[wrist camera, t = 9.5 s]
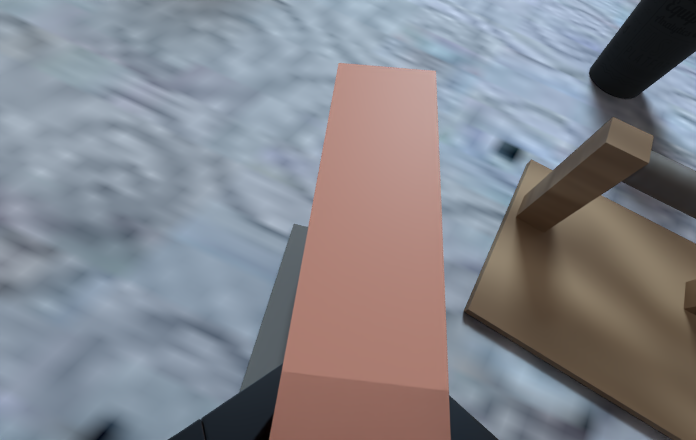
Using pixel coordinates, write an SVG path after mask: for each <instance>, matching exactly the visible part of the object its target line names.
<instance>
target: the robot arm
mask: <svg viewBox="0 0 696 440" xmlns="http://www.w3.org/2000/svg"><path fill="white" fill-rule="evenodd" d="M282 367H283V363H282V364H281V365H279V366H278V367H276V368H275V369H273V370H272V371H271V372H269V373H268V374H266V375H265V376H263V377H262V378H260V379H259V380H257V381H256V382H254V383H253V384H251V385H250V386H248V387H247V388H245V389H244V390H242V391H241V392H239V393H238V394H237V395H235V396H234V397H232V398H231V399H229V400H228V401H226V402H225V403H223V404H222V405H220V406H219V407H217V408H216V409H214V410H213V411H211V412H210V413H208V414H207V415H205V416H204V417H203V418H202V419H201V420H200V419H199V420H197V421H196V422H194V423H193V424H191V425H190V426H188V427H187V428H185V429H184V430H182V431H181V432H179V433H177V434H176V435H174V436H173V437H171V438H170V439H168V440H269V437H270V432H271V427H272V421H273V416H274V410H275V405H276V400H277V394H278V389H279V383H280V378H281V373H282ZM449 409H450V434H451V440H498V439H497V438H496V437H495V436H494V435H493V434H492V433H490V432H489V431H488V430H487V429H486V428H485V427H484V426H483V425H482V424H480V423H479V422H478V421H477V420H476V419H475V418H474V417H473V416H472V415H470V414H469V413H468V412H467V411H466V410H465V409H464V408H463V407H462V406H460V405H459V404H458V403H457V402H456V401H455V400H454V399H453V398H452V397H450V396H449Z"/></svg>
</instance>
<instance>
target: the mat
mask: <svg viewBox="0 0 696 440" xmlns="http://www.w3.org/2000/svg"><path fill="white" fill-rule="evenodd" d="M307 232H308V227H305V226H301V225H297V224H294V225H293V228H292V231H291V234H290V238H289V241H288V244H287V247H286V250H285V253H284V256H283V259H282V262H281V265H280V269H279V272H278V275H277V278H276V281H275V284H274V287H273V290H272V293H271V296H270V300H269V303H268V306H267V309H266V312H265V315H264V318H263V321H262V324H261V327H260V330H259V334H258V337H257V340H256V343H255V346H254V349H253V352H252V355H251V358H250V361H249V365H248V368H247V371H246V374H245V377H244V380H243V383H242V386H241V389H240V392H241V391H242V390H244V389H245V388H247V387H248V386H250V385H251V384H253V383H254V382H256V381H257V380H259V379H260V378H262V377H263V376H265V375H266V374H268V373H269V372H271V371H272V370H273V369H275V368H276V367H278V366H279V365H281V364H282V363H283V362H284V356H285V351H286V346H287V340H288V335H289V329H290V324H291V319H292V313H293V308H294V302H295V297H296V291H297V286H298V281H299V275H300V270H301V264H302V259H303V254H304V248H305V243H306V237H307Z"/></svg>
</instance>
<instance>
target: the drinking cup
mask: <svg viewBox="0 0 696 440" xmlns="http://www.w3.org/2000/svg"><path fill="white" fill-rule="evenodd" d="M695 51H696V0H641V1H640V3H639V4H638V5H637V7H636V8H635V9H634V11H633V12H632V13H631V15H630V16H629V17H628V19H627V20H626V21H625V23H624V24H623V25H622V27H621V28H620V29H619V31H618V32H617V33H616V35H615V36H614V37H613V39H612V40H611V41H610V43H609V44H608V45H607V47H606V48H605V49H604V51H603V52H602V53H601V55H600V56H599V57H598V59H597V60H596V61H595V63H594V64H593V65H592V67H591V68H590V76H591V78H592V80H593V81H594V83H595V84H596V85H597V86H598V87H599V88H601V89H602V90H604V91H605V92H607V93H609V94H611V95H613V96H616V97H620V98H634V97H636V96H638V95H639V94H640V93H641V92H643V91H644V90H645V89H647V88H648V87H649V86H651V85H652V84H653V83H655V82H656V81H657V80H659V79H660V78H661V77H662V76H664V75H665V74H666V73H668V72H669V71H670V70H672V69H673V68H674V67H676V66H677V65H678V64H680V63H681V62H682V61H683V60H685V59H686V58H687V57H689V56H690V55H691V54H693V53H694V52H695Z"/></svg>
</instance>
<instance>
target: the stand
mask: <svg viewBox="0 0 696 440" xmlns="http://www.w3.org/2000/svg"><path fill="white" fill-rule="evenodd" d="M653 137H654V136H653V135H651V134H649V133H646V132H644V131H642V130H640V129H638V128H636V127H634V126H632V125H629V124H627V123H625V122H623V121H621V120H619V119H617V118H615V117H612V118H611V119H610V120H609V121H608V122H607V123H605V124H604V125H603V126H602V127H601V128H600V129H599V130H598V131H597V132H595V133H594V134H593V135H592V136H591V137H590V138H589V139H588V140H586V141H585V142H584V143H583V144H582V145H581V146H580V147H579V148H577V149H576V150H575V151H574V152H573V153H572V154H571V155H570V156H568V157H567V158H566V159H565V160H564V161H563V162H562V163H561V164H560V165H558V166H557V167H556V168H555V169H554V170H551V169H549V168H547V167H545V166H543V165H541V164H539V163H537V162H535V161H533V160H530V162H529V163H528V164H527V165H526V167H525V169H524V172H523V174H522V176H521V179H520V181H519V183H518V186H517V188H516V190H515V193H514V195H513V197H512V200H511V202H510V204H509V207H508V209H507V211H506V214H505V216H504V218H503V221H502V223H501V225H500V228H499V230H498V232H497V235H496V237H495V239H494V242H493V244H492V246H491V249H490V251H489V253H488V256H487V258H486V260H485V263H484V265H483V267H482V270H481V272H480V274H479V277H478V279H477V281H476V284H475V286H474V288H473V291H472V293H471V295H470V298H469V300H468V302H467V305H466V307H465V309H464V312H465V313H467V314H469V315H470V316H472V317H474V318H475V319H477V320H479V321H480V322H482V323H483V324H485V325H487V326H488V327H490V328H492V329H493V330H495V331H496V332H498V333H500V334H501V335H503V336H505V337H506V338H508V339H509V340H511V341H513V342H514V343H516V344H518V345H519V346H521V347H523V348H524V349H526V350H527V351H529V352H531V353H532V354H534V355H536V356H537V357H539V358H540V359H542V360H544V361H545V362H547V363H549V364H550V365H552V366H553V367H555V368H557V369H558V370H560V371H562V372H563V373H565V374H567V375H568V376H570V377H571V378H573V379H575V380H576V381H578V382H580V383H581V384H583V385H584V386H586V387H588V388H589V389H591V390H593V391H594V392H596V393H597V394H599V395H601V396H602V397H604V398H606V399H607V400H609V401H611V402H612V403H614V404H615V405H617V406H619V407H620V408H622V409H624V410H625V411H627V412H628V413H630V414H632V415H633V416H635V417H637V418H638V419H640V420H641V421H643V422H645V423H646V424H648V425H650V426H651V427H653V428H654V429H656V430H658V431H659V432H661V433H663V434H664V435H666V436H668V437H669V438H671V439H672V440H696V244H695V243H693V242H691V241H689V240H687V239H685V238H683V237H681V236H679V235H678V234H676V233H674V232H672V231H670V230H668V229H666V228H664V227H662V226H660V225H658V224H656V223H654V222H652V221H650V220H648V219H646V218H644V217H642V216H640V215H639V214H637V213H635V212H633V211H631V210H629V209H627V208H625V207H623V206H621V205H619V204H617V203H615V202H613V201H611V200H609V199H607V198H605V197H603V196H601V195H602V194H603V193H605V192H606V191H608V190H609V189H611V188H612V187H614V186H615V185H617V184H618V183H620V182H621V181H622V182H624V183H626V184H628V185H630V186H632V187H634V188H636V189H638V190H640V191H642V192H643V193H645V194H647V195H649V196H651V197H653V198H655V199H657V200H659V201H661V202H663V203H665V204H667V205H669V206H671V207H673V208H675V209H677V210H679V211H681V212H683V213H685V214H687V215H689V216H691V217H693V218H695V219H696V171H694V170H692V169H690V168H688V167H686V166H684V165H682V164H680V163H678V162H675V161H673V160H671V159H669V158H667V157H665V156H663V155H661V154H659V153H657V152H655V151H652V150H651V149H652V143H653Z"/></svg>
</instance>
